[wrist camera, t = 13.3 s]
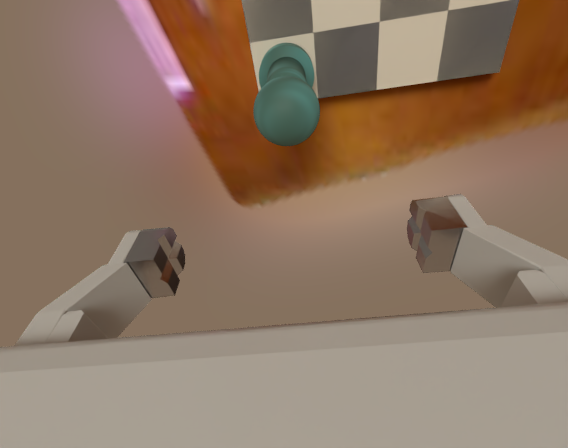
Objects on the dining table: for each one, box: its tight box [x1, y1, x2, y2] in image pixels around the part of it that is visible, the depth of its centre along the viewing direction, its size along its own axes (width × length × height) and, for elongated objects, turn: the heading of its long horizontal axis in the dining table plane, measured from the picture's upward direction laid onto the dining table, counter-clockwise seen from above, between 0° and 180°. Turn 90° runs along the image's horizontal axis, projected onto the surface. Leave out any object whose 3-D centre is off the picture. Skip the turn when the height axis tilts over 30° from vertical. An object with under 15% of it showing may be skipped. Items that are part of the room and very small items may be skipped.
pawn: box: [254, 42, 320, 146], centre depth 22 cm, size 4×4×11 cm
